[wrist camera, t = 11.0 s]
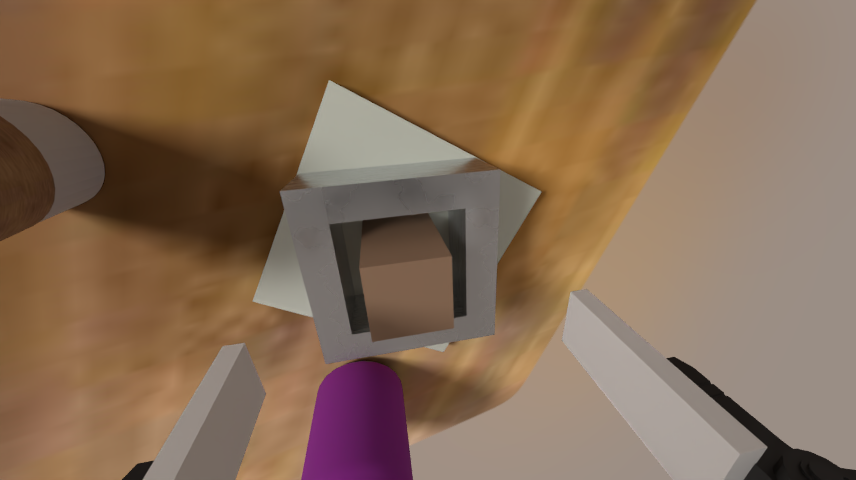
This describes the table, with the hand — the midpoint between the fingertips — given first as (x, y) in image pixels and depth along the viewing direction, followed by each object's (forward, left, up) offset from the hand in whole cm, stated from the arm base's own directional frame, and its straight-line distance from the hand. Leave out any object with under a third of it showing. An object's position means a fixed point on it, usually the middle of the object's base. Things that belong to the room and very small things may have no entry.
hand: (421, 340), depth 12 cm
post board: (0, 0, -12) cm, 12 cm away
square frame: (0, 0, -11) cm, 11 cm away
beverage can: (+15, +3, -12) cm, 20 cm away
